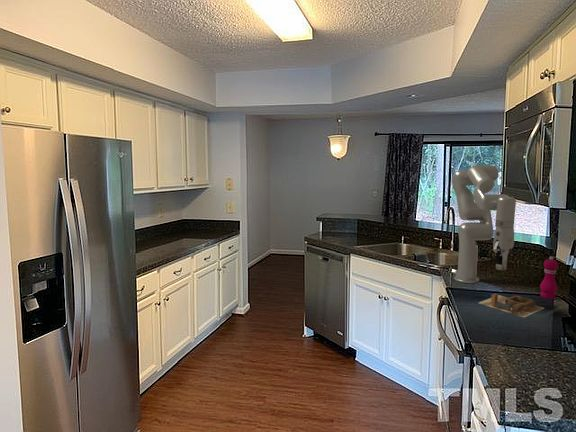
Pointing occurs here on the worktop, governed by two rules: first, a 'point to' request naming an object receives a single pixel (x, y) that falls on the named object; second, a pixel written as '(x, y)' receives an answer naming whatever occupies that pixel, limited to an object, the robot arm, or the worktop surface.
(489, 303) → the dock
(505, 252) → the peg
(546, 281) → the pepper mill
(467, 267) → the robot arm
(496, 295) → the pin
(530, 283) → the worktop surface
